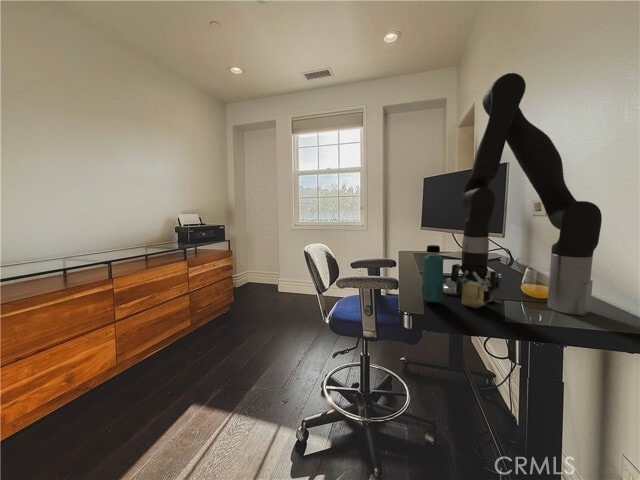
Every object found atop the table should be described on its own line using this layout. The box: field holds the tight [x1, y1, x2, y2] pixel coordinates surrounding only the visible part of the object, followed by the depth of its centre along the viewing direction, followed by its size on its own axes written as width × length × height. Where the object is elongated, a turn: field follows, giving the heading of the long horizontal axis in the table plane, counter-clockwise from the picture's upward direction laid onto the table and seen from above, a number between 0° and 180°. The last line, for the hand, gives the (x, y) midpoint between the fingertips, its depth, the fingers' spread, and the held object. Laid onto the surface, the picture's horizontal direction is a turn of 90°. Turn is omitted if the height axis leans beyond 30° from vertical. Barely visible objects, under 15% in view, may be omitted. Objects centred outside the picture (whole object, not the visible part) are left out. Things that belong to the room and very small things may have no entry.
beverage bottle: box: [422, 244, 444, 303], centre depth 91 cm, size 6×7×20 cm
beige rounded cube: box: [461, 280, 486, 309], centre depth 89 cm, size 5×5×7 cm
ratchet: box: [443, 277, 493, 304], centre depth 99 cm, size 18×8×5 cm, turn 33°
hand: (472, 298), depth 90 cm, fingers open, 8 cm apart
